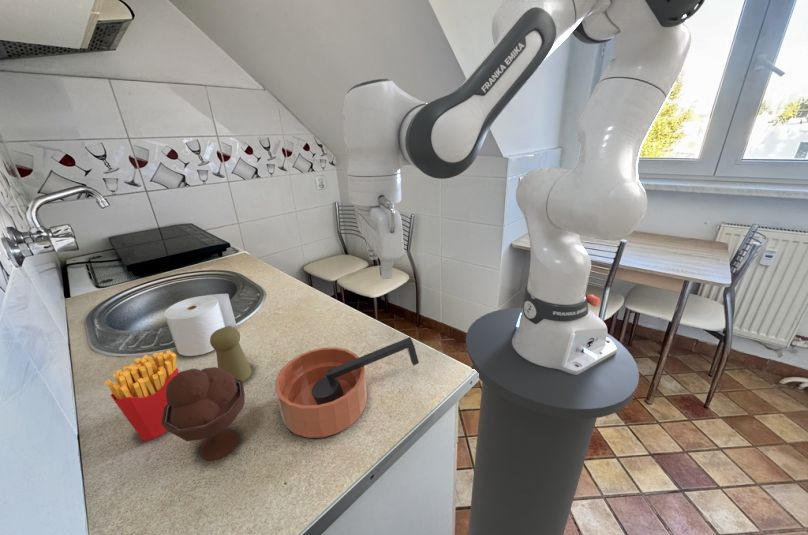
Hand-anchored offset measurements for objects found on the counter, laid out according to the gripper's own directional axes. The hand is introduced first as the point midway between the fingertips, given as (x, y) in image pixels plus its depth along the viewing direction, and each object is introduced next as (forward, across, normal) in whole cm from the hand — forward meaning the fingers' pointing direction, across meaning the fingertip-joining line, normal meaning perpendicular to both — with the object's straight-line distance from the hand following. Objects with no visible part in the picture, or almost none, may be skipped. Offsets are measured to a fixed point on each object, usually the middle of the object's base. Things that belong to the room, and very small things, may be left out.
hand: (379, 267), depth 59 cm
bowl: (+23, -6, +13) cm, 27 cm away
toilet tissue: (+23, +24, +39) cm, 51 cm away
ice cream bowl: (+23, -9, +30) cm, 39 cm away
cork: (+23, +8, +30) cm, 39 cm away
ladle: (+20, -6, +5) cm, 22 cm away
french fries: (+23, -1, +40) cm, 46 cm away
